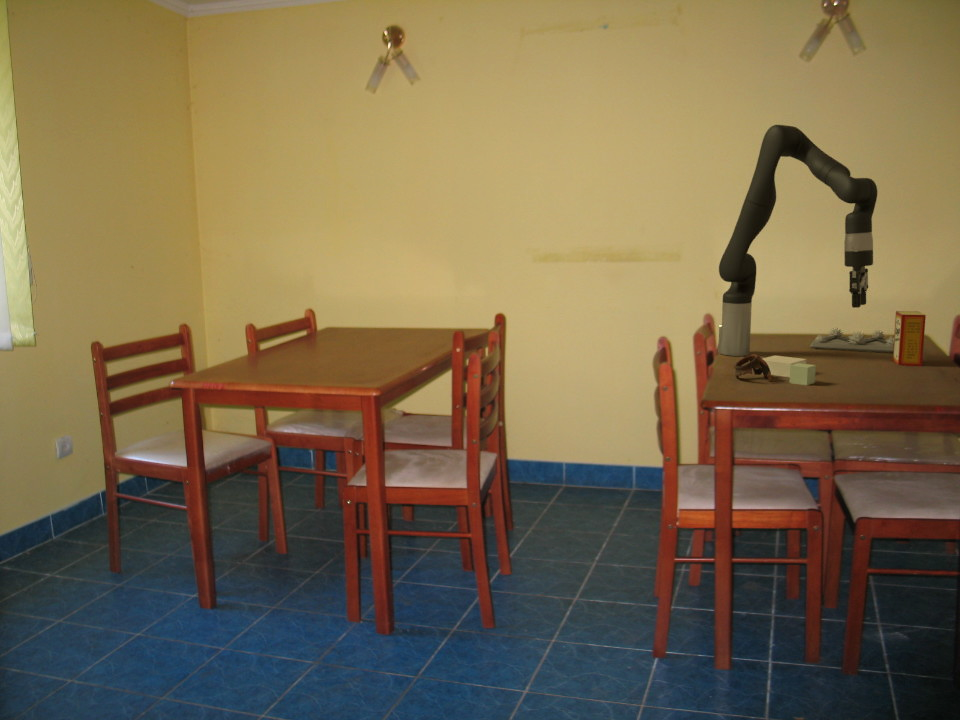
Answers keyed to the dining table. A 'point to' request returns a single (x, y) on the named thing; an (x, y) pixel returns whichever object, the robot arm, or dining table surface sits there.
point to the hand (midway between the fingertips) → (859, 306)
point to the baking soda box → (909, 338)
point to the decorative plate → (854, 342)
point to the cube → (802, 374)
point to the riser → (782, 364)
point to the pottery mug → (755, 363)
